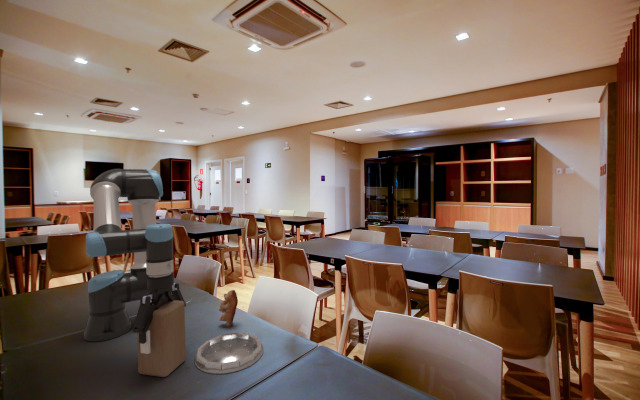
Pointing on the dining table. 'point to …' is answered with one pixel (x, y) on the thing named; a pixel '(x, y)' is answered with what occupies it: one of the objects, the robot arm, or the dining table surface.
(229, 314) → the figurine
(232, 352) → the metallic bowl
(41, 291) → the dining table surface
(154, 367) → the block
